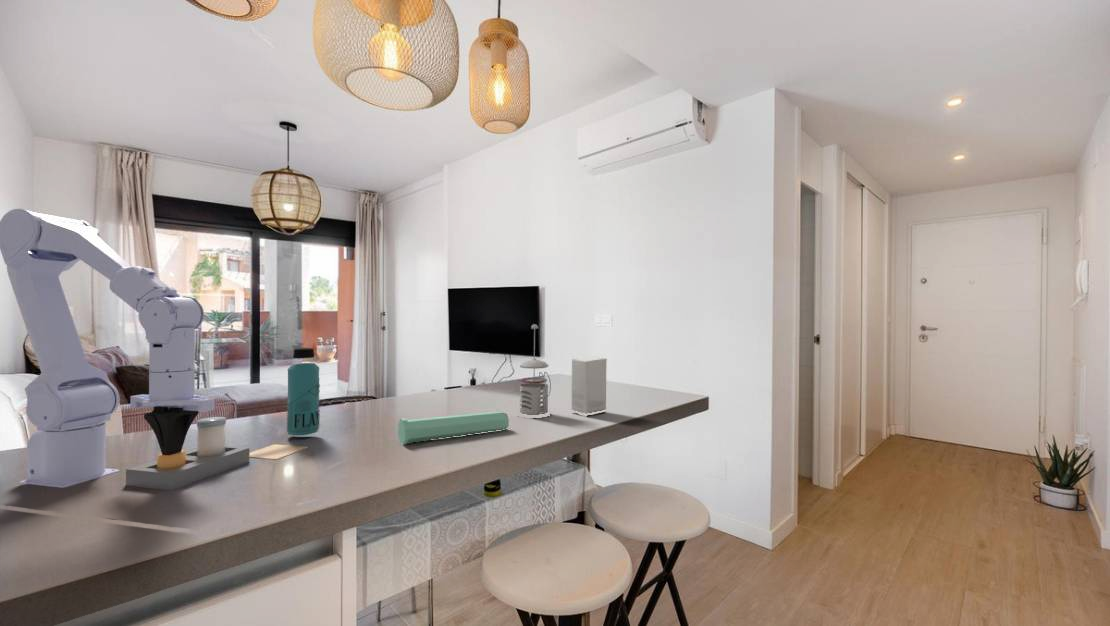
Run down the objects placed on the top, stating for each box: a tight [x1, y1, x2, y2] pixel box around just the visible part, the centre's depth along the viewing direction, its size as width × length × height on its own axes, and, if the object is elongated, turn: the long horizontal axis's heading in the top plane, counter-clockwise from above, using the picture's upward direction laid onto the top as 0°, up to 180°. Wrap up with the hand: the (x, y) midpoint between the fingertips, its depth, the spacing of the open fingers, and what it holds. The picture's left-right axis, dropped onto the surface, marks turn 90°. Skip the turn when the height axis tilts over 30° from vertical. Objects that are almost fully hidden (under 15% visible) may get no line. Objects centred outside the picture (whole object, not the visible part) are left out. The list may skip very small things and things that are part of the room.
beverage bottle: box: [286, 347, 321, 436], centre depth 102 cm, size 6×7×20 cm
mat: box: [249, 443, 308, 461], centre depth 91 cm, size 8×8×1 cm
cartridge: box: [196, 416, 227, 457], centre depth 83 cm, size 4×4×8 cm
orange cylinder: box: [156, 449, 187, 470], centre depth 76 cm, size 4×4×4 cm
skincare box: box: [571, 356, 608, 414], centre depth 131 cm, size 8×7×16 cm
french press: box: [519, 323, 552, 415], centre depth 128 cm, size 10×12×25 cm
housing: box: [125, 445, 250, 491], centre depth 79 cm, size 9×14×3 cm, turn 168°
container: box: [397, 410, 510, 446], centre depth 106 cm, size 6×6×25 cm
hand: (171, 453), depth 76 cm, fingers closed, pressing on orange cylinder
